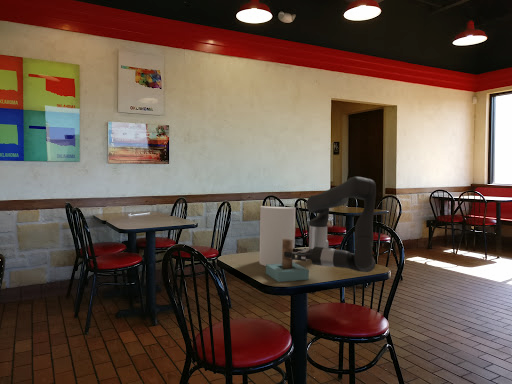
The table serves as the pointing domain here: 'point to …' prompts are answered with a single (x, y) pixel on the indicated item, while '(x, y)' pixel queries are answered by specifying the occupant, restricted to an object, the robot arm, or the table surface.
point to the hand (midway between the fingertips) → (288, 252)
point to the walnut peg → (287, 248)
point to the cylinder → (275, 232)
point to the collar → (287, 272)
